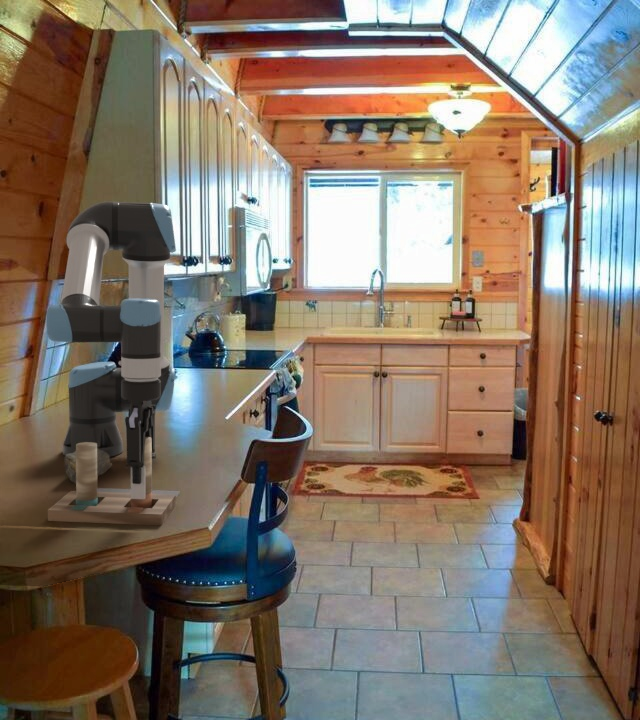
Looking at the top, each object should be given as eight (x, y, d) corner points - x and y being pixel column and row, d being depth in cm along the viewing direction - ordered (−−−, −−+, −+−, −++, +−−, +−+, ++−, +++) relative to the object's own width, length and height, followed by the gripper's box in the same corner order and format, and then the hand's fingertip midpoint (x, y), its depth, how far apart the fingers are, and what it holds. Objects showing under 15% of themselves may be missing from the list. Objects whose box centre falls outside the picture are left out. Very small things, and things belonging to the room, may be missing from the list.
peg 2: (154, 504, 150) (154, 436, 148) (148, 511, 146) (148, 441, 144) (134, 503, 150) (133, 435, 148) (128, 510, 146) (127, 440, 144)
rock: (108, 467, 164) (62, 456, 163) (100, 496, 165) (55, 485, 164) (118, 446, 181) (76, 435, 179) (110, 471, 182) (69, 462, 180)
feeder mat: (90, 489, 163) (90, 487, 163) (180, 492, 163) (180, 491, 163) (77, 501, 155) (77, 499, 155) (172, 504, 155) (172, 502, 155)
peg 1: (100, 510, 150) (100, 442, 149) (93, 516, 146) (93, 447, 145) (80, 509, 150) (79, 441, 149) (73, 516, 146) (72, 446, 145)
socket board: (70, 502, 154) (70, 489, 154) (175, 506, 154) (175, 493, 153) (47, 522, 143) (47, 508, 142) (161, 526, 142) (161, 513, 142)
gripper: (134, 371, 153) (134, 481, 156) (107, 385, 136) (109, 508, 139) (170, 372, 153) (170, 482, 156) (148, 386, 136) (148, 509, 139)
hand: (141, 494), depth 147 cm, fingers closed on peg 2, 4 cm apart
